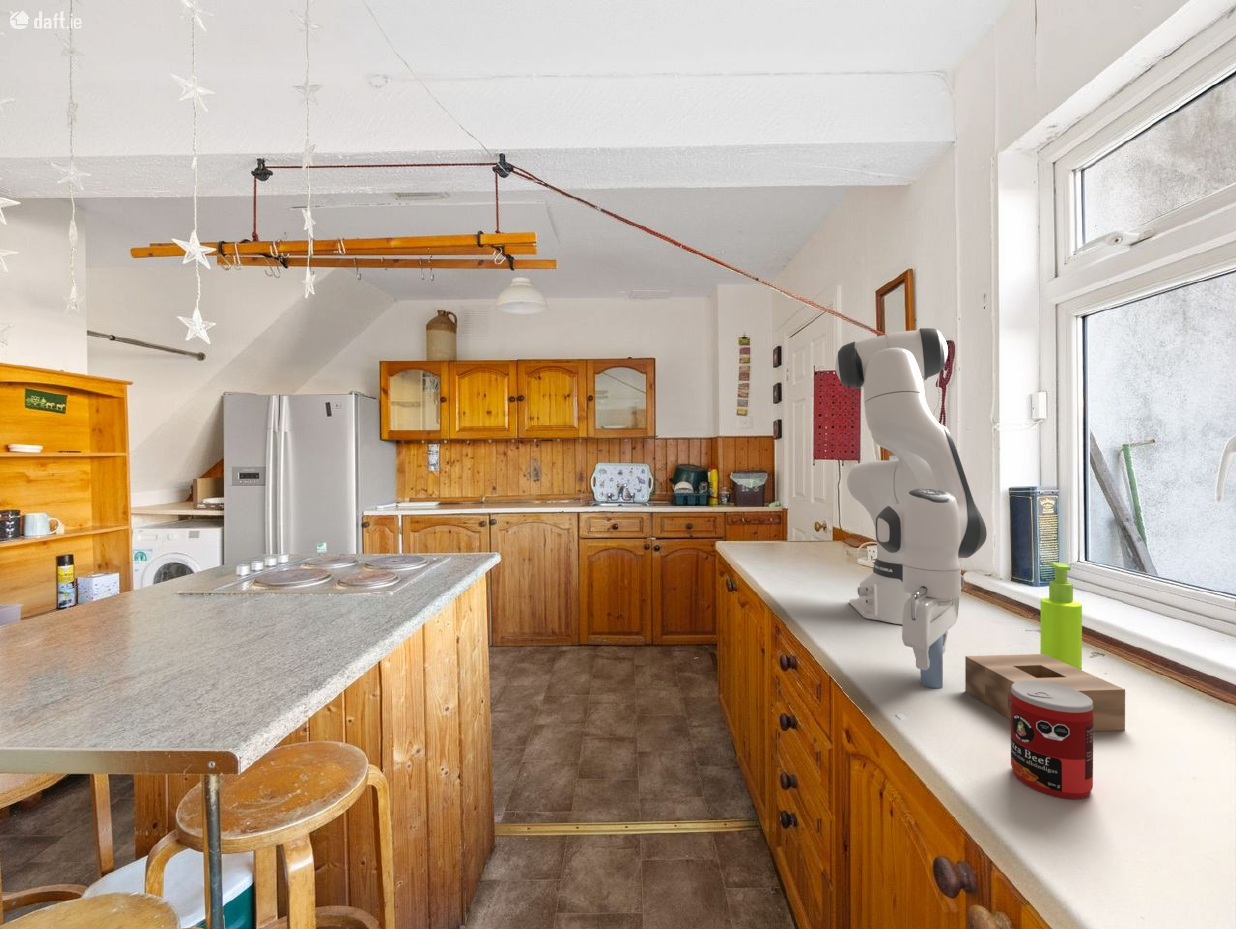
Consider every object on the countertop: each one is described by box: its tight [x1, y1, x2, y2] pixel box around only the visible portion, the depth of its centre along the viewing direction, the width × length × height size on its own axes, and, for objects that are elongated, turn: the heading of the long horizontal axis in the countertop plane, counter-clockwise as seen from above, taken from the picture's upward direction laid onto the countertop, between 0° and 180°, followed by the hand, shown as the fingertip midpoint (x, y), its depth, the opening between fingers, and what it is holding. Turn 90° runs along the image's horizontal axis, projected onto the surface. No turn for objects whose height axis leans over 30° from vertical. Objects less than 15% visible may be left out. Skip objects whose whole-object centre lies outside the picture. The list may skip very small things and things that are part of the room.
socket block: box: [964, 653, 1126, 732], centre depth 85 cm, size 14×14×6 cm
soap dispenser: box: [1039, 561, 1083, 671], centre depth 99 cm, size 6×7×20 cm
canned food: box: [1010, 681, 1094, 800], centre depth 66 cm, size 8×8×11 cm
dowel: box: [919, 634, 944, 690], centre depth 94 cm, size 3×3×11 cm
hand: (931, 660), depth 94 cm, fingers open, 8 cm apart
